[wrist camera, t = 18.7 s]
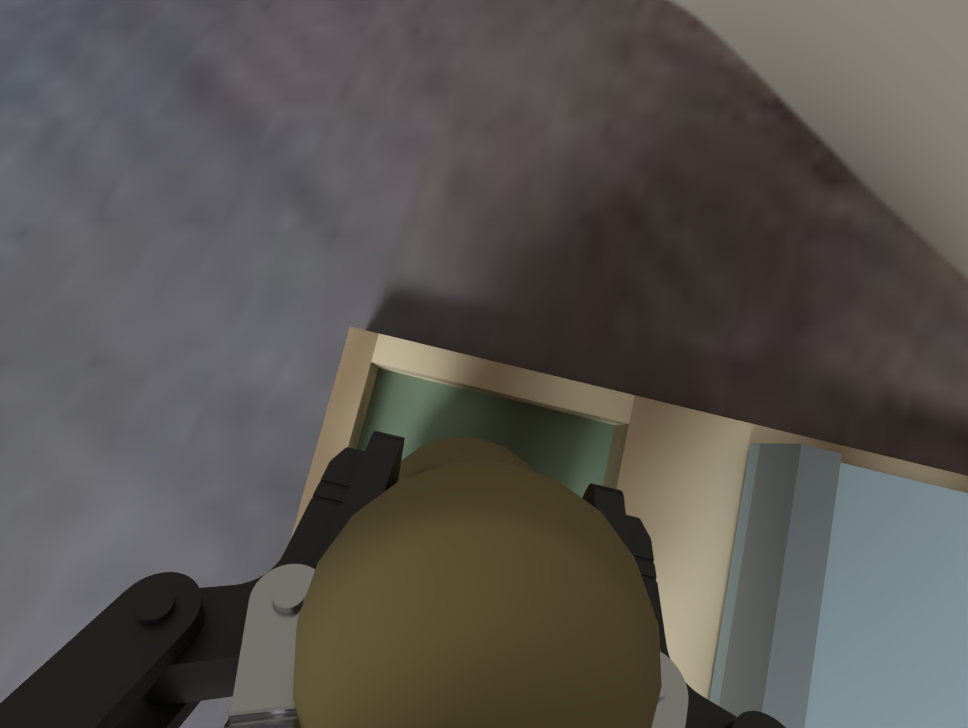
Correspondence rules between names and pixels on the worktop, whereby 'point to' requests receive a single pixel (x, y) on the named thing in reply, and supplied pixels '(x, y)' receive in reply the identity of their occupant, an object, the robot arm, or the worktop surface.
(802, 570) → the cover
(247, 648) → the robot arm
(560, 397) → the board
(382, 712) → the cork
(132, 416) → the worktop surface
